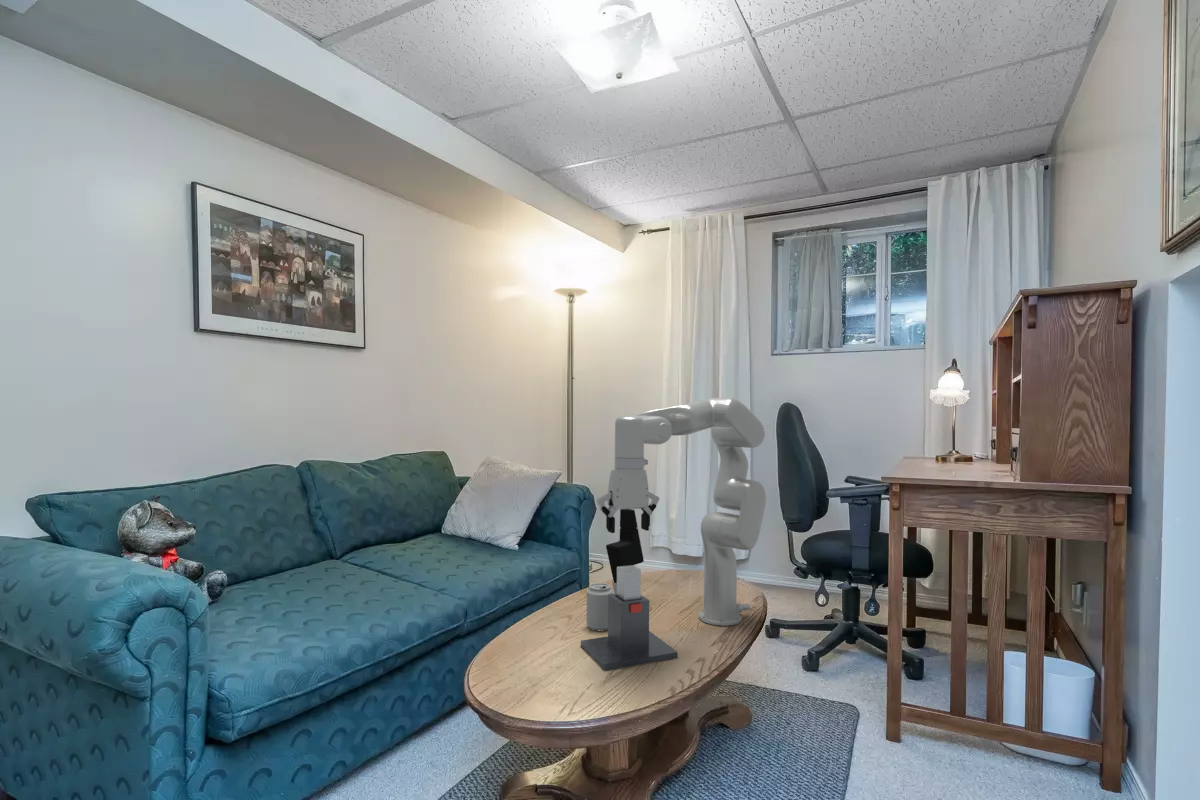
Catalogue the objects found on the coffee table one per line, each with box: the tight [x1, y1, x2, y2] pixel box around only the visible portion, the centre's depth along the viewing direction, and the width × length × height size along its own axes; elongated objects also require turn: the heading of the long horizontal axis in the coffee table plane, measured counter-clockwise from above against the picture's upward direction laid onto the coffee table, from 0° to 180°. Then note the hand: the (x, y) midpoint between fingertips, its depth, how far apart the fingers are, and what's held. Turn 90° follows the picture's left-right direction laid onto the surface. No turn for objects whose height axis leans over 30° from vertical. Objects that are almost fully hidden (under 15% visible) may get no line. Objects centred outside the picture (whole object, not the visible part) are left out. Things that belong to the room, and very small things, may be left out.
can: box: [586, 582, 614, 632], centre depth 174 cm, size 8×8×12 cm
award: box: [605, 509, 645, 594], centre depth 196 cm, size 15×5×30 cm, turn 144°
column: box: [617, 565, 642, 602], centre depth 156 cm, size 5×5×20 cm
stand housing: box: [580, 593, 679, 671], centre depth 156 cm, size 20×16×14 cm
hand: (628, 530), depth 157 cm, fingers open, 9 cm apart
